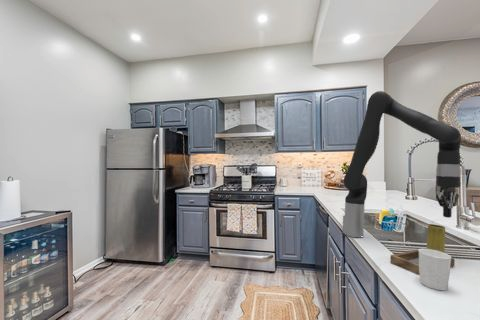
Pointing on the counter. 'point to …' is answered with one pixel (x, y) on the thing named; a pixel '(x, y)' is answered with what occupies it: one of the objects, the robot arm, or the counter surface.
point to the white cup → (434, 268)
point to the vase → (436, 238)
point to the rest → (409, 260)
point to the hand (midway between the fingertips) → (447, 217)
